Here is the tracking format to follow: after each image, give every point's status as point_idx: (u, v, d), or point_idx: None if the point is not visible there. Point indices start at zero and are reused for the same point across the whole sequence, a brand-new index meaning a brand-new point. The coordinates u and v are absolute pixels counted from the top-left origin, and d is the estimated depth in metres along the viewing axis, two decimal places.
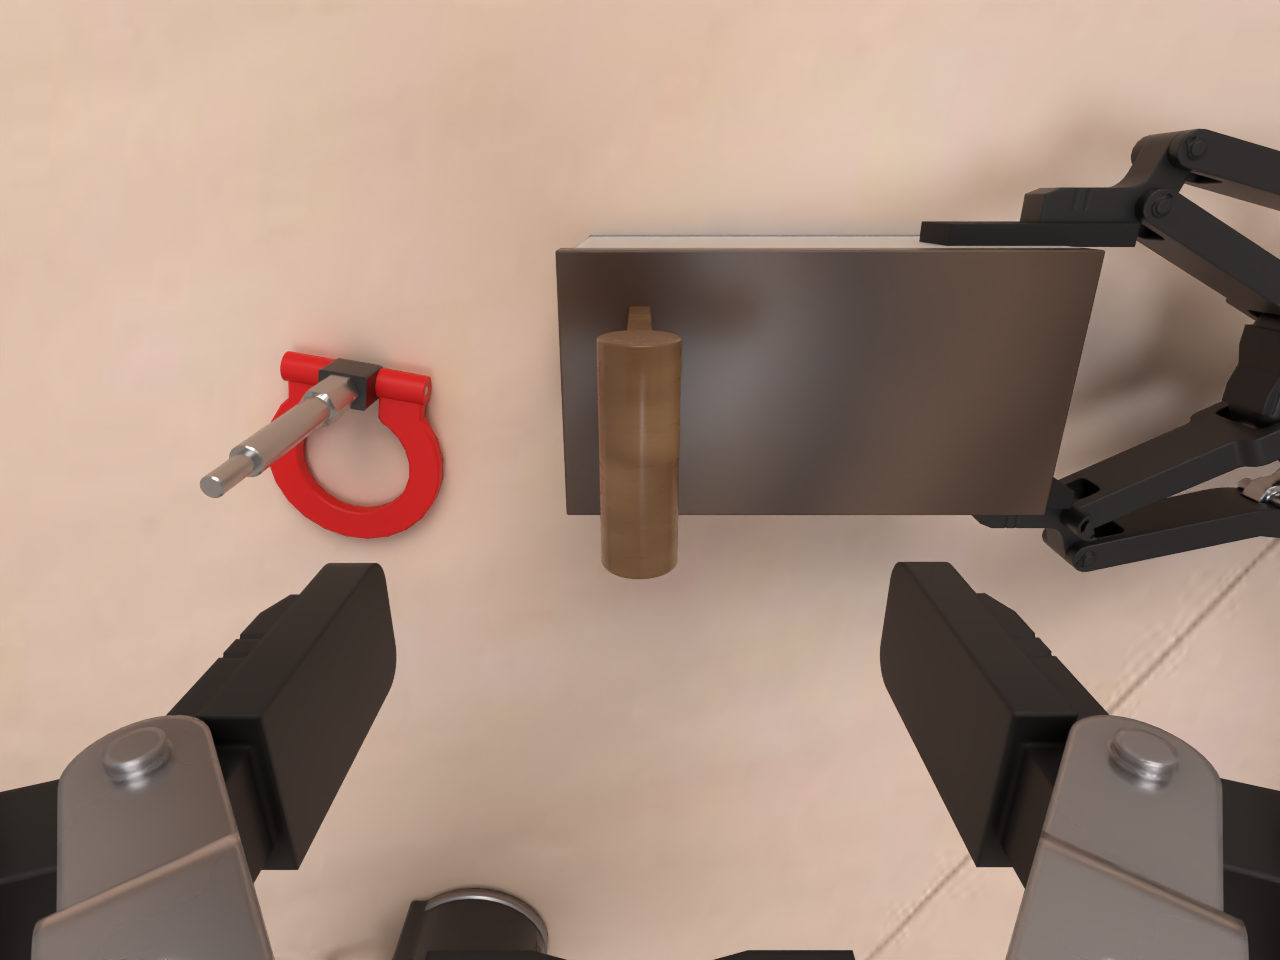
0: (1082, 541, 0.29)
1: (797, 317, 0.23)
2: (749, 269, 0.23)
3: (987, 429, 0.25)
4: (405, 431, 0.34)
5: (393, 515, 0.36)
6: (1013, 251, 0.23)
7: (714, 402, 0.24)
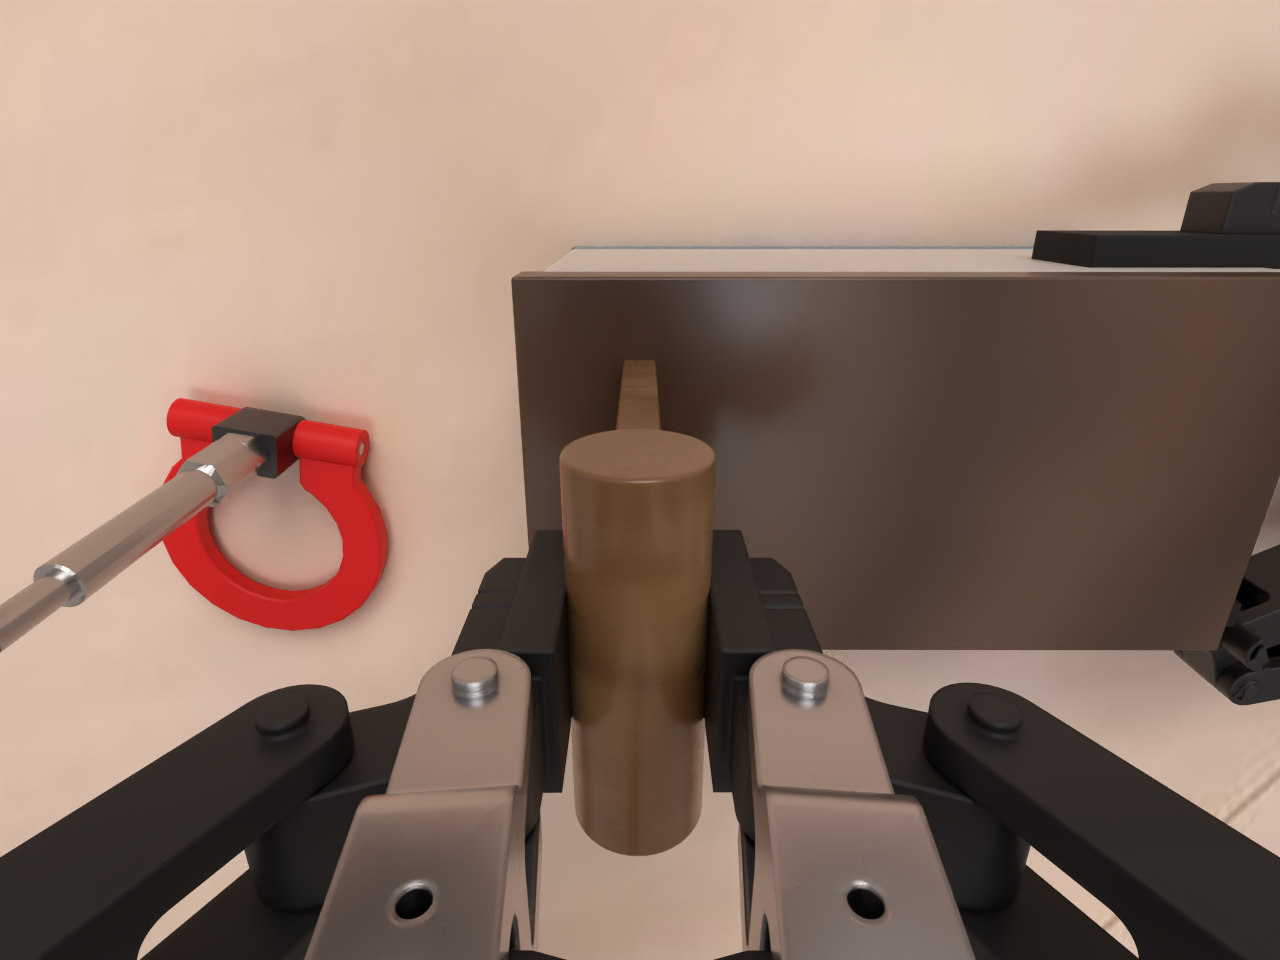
0: (1240, 664, 0.22)
1: (876, 376, 0.15)
2: (806, 305, 0.15)
3: (1146, 535, 0.17)
4: (335, 500, 0.26)
5: (324, 603, 0.28)
6: (1209, 279, 0.15)
7: (749, 497, 0.17)
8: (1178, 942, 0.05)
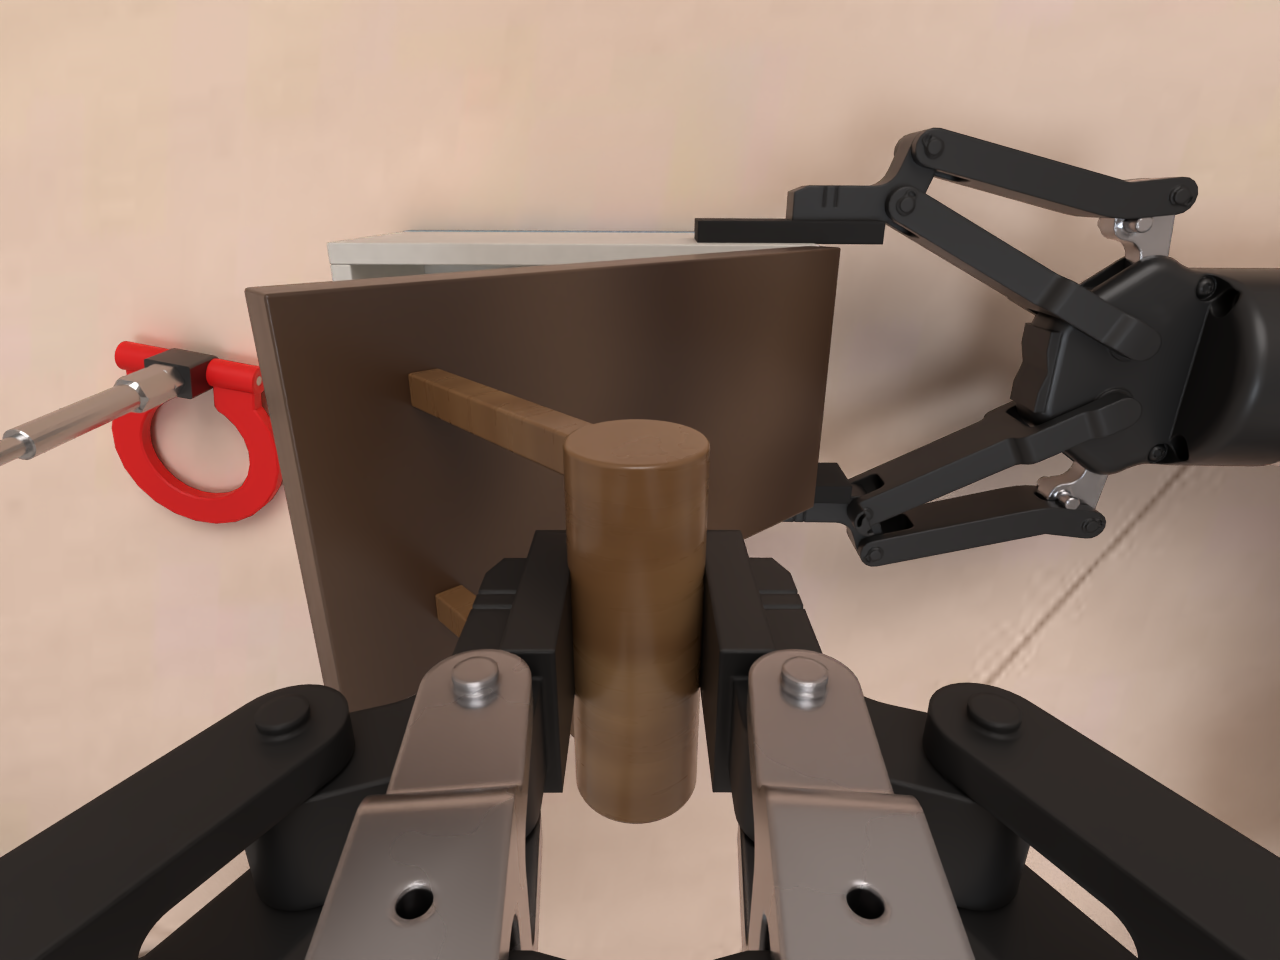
0: (871, 536, 0.30)
1: (617, 353, 0.18)
2: (561, 297, 0.16)
3: (776, 439, 0.24)
4: (241, 419, 0.35)
5: (238, 501, 0.37)
6: (785, 253, 0.21)
7: (536, 486, 0.17)
8: (1177, 942, 0.05)
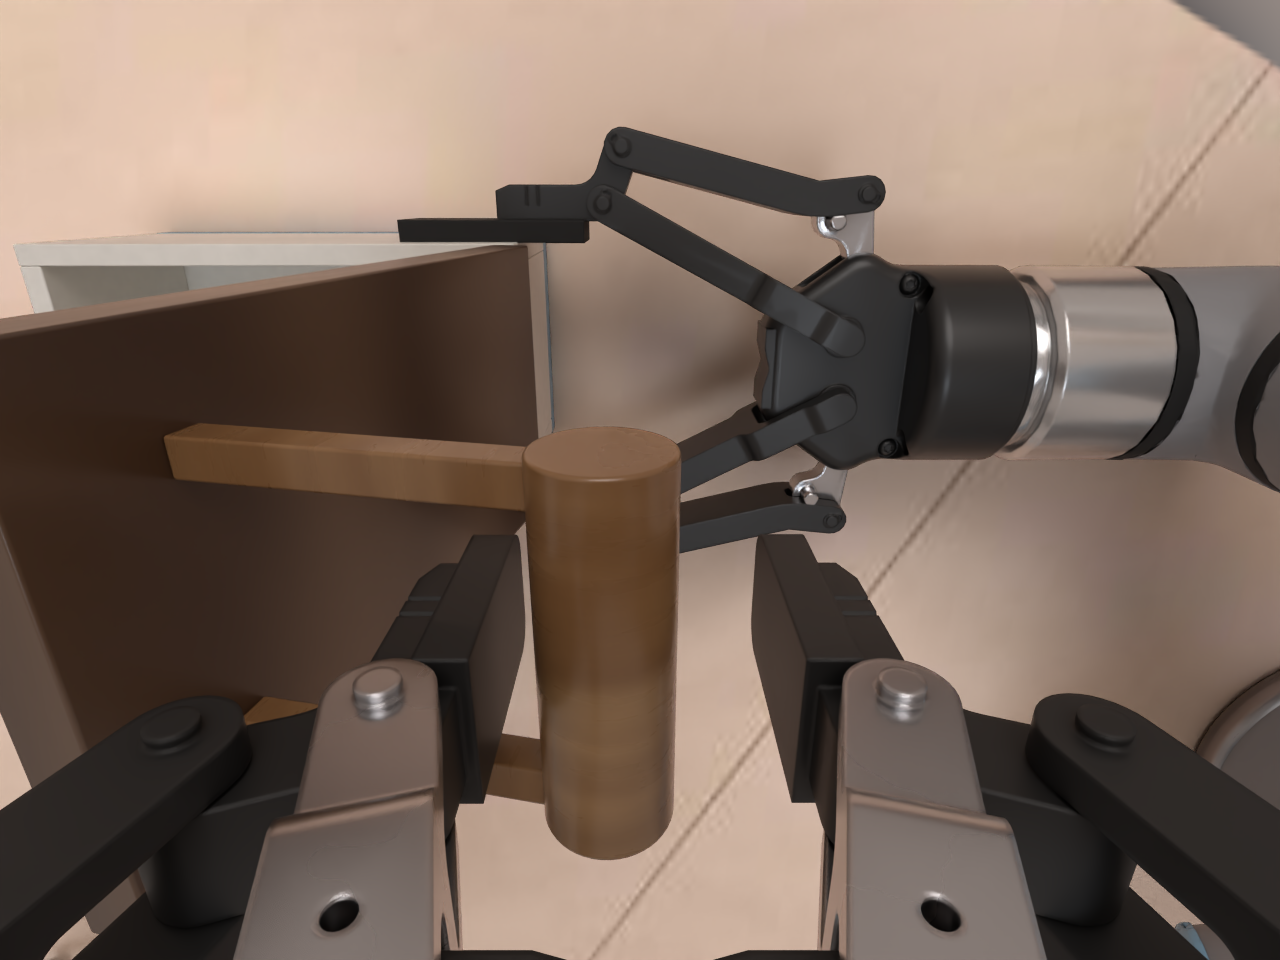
0: None
1: (376, 374, 0.15)
2: (316, 314, 0.13)
3: (509, 442, 0.23)
4: None
5: None
6: (491, 252, 0.21)
7: (323, 547, 0.14)
8: None
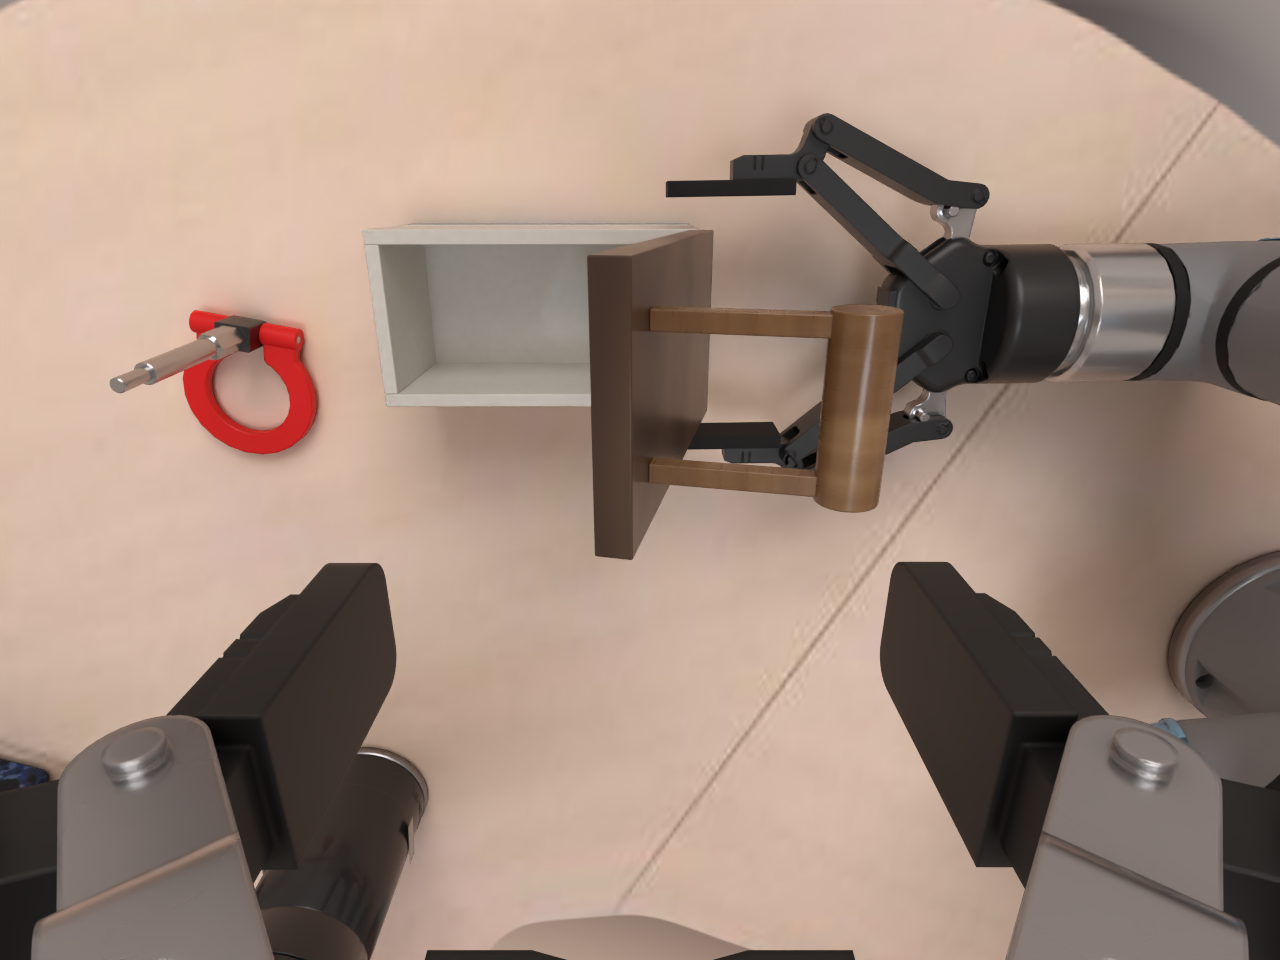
0: None
1: (679, 298, 0.27)
2: (672, 260, 0.25)
3: (701, 361, 0.35)
4: (284, 370, 0.46)
5: (280, 435, 0.48)
6: (704, 233, 0.32)
7: (665, 389, 0.26)
8: None
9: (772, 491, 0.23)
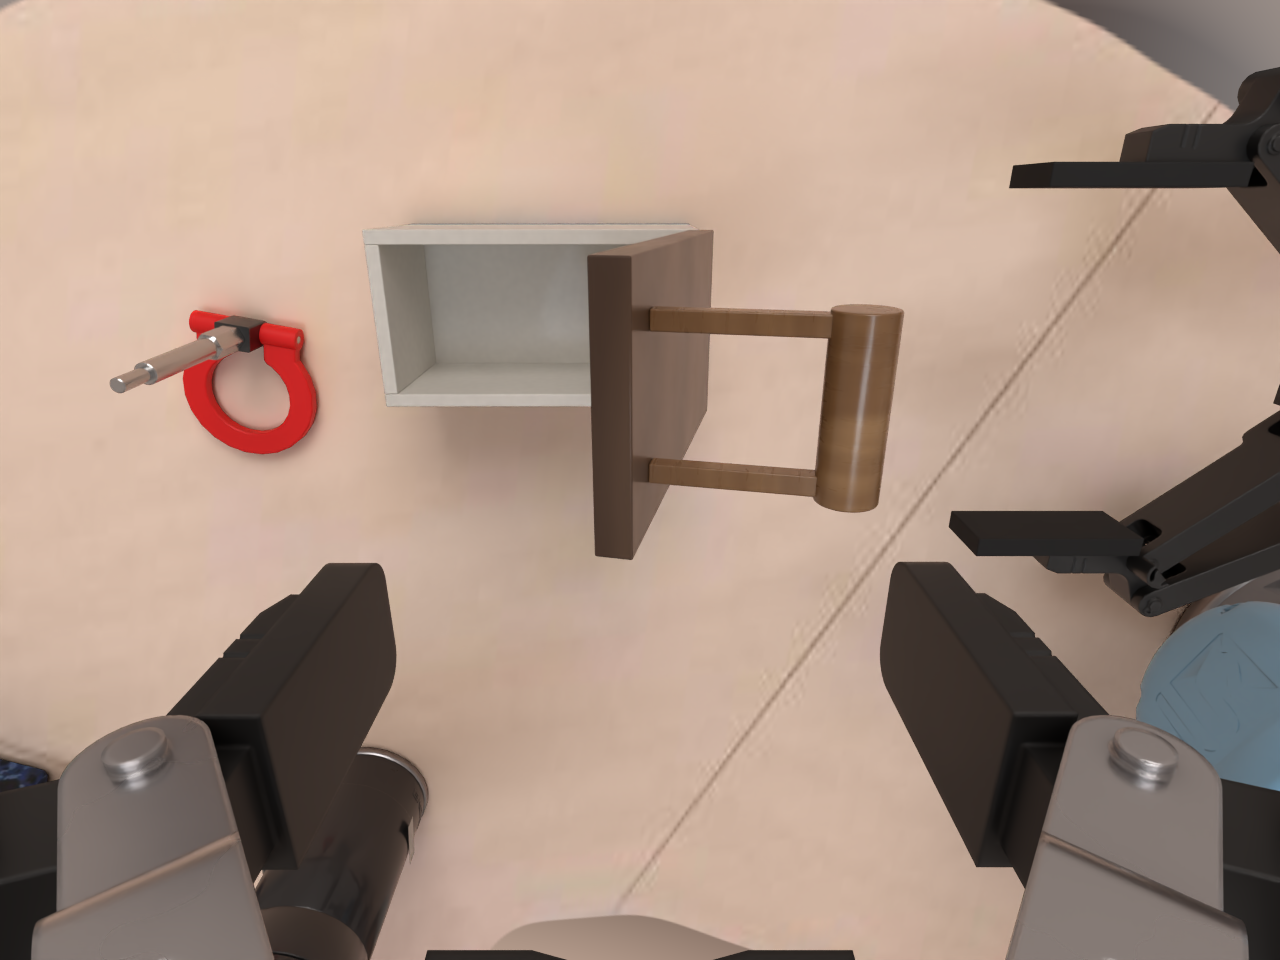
0: (1144, 587, 0.29)
1: (679, 298, 0.27)
2: (672, 260, 0.25)
3: (701, 361, 0.35)
4: (284, 370, 0.46)
5: (280, 435, 0.48)
6: (704, 233, 0.32)
7: (665, 389, 0.26)
8: None
9: (772, 491, 0.23)
